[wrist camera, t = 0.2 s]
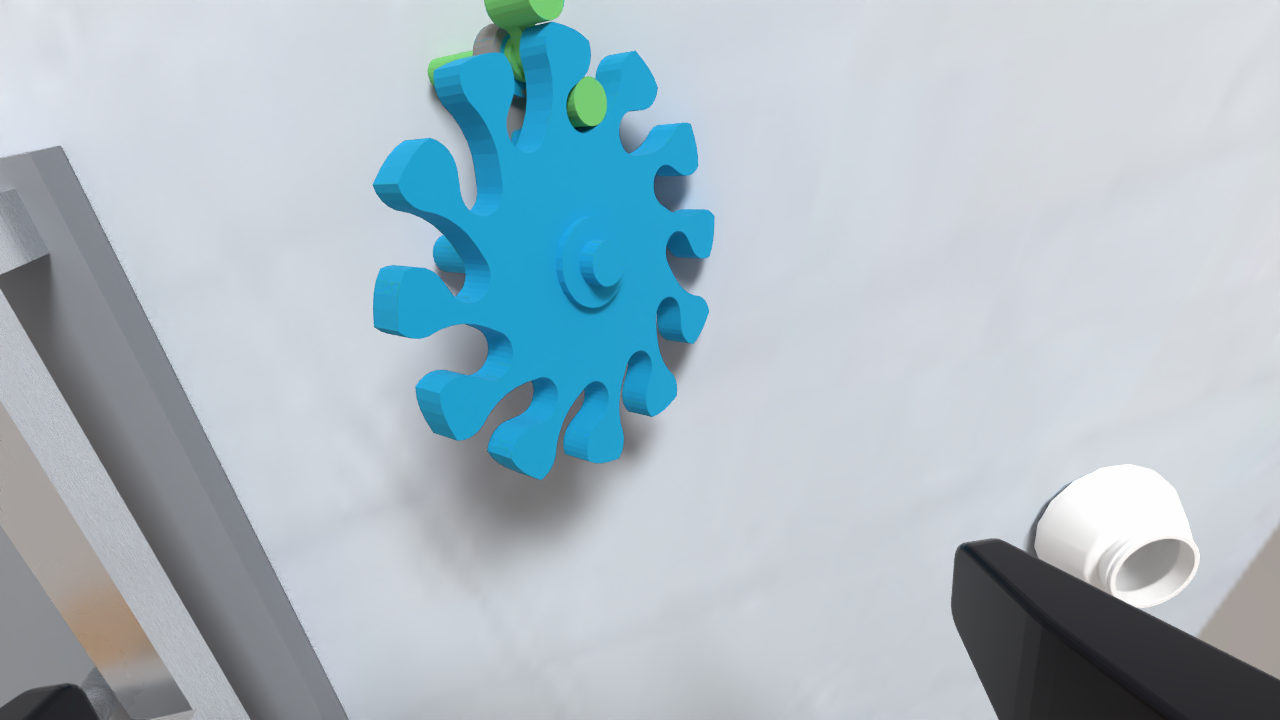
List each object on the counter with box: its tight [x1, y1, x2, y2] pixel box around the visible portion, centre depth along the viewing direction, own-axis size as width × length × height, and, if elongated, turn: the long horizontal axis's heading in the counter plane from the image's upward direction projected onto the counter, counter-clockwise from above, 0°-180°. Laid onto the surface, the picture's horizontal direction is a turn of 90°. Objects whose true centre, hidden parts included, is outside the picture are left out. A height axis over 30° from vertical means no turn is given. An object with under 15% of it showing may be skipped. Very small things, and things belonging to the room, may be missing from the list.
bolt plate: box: [0, 146, 348, 720], centre depth 23 cm, size 26×10×1 cm, turn 11°
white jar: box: [1034, 464, 1200, 608], centre depth 26 cm, size 5×3×5 cm
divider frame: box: [0, 189, 250, 720], centre depth 20 cm, size 22×6×4 cm, turn 11°
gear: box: [373, 0, 714, 480], centre depth 18 cm, size 11×6×10 cm
